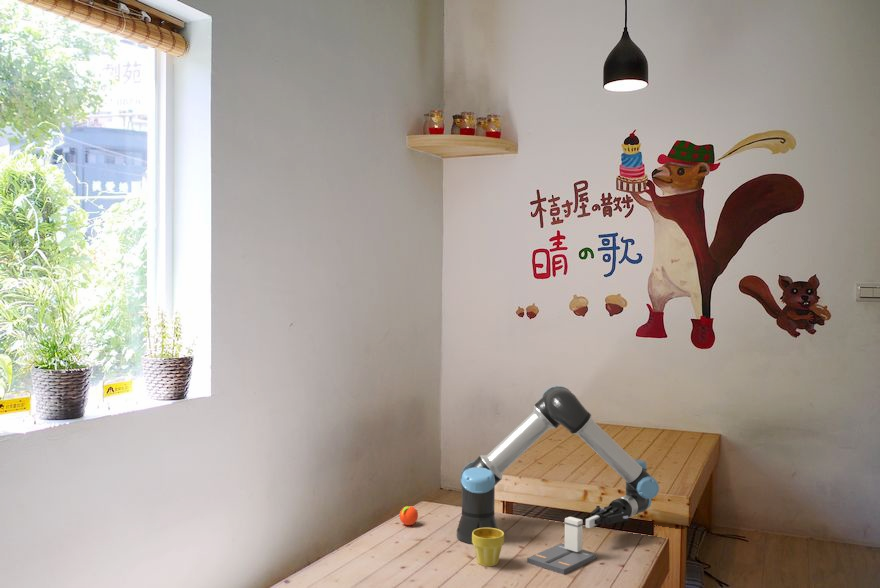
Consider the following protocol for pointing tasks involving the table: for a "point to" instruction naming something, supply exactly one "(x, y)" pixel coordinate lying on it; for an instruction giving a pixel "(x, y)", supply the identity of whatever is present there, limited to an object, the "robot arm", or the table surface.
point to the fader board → (561, 559)
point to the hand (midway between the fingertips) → (587, 523)
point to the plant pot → (487, 545)
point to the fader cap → (573, 534)
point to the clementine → (408, 515)
